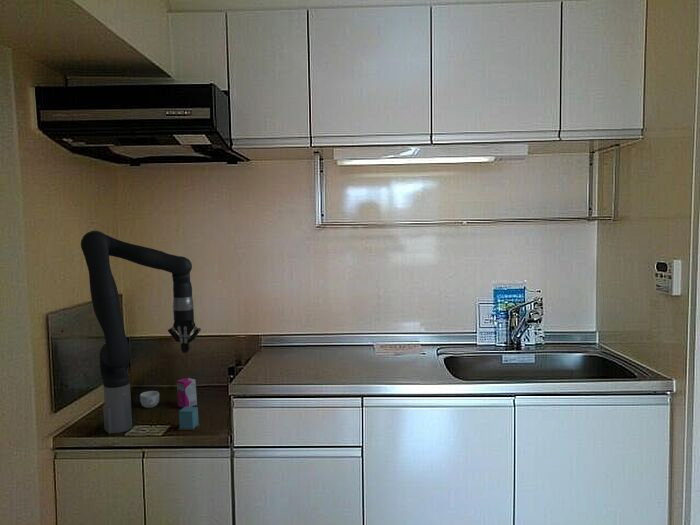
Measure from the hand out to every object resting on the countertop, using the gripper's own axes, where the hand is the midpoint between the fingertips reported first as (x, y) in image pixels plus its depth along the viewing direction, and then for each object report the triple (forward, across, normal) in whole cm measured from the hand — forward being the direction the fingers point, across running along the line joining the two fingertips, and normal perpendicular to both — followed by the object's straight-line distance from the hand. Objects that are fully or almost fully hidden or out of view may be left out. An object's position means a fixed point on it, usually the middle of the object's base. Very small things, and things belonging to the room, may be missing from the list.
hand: (185, 352), depth 225 cm
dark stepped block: (+27, -4, +8) cm, 28 cm away
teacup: (+27, +23, -14) cm, 38 cm away
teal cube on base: (+26, -4, +8) cm, 28 cm away
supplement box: (+27, +7, -16) cm, 32 cm away
